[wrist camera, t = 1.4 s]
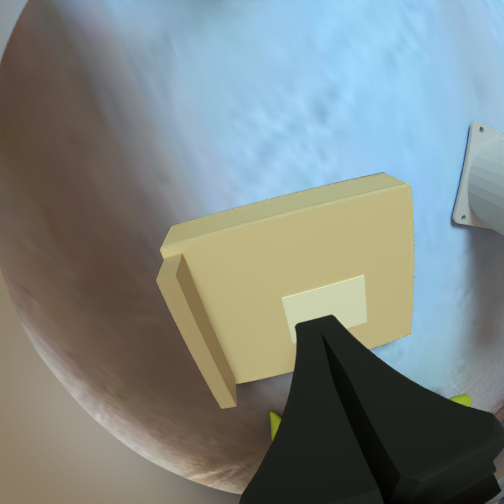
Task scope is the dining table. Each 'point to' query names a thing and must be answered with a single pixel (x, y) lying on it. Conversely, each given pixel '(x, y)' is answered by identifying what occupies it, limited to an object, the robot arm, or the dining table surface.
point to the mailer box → (280, 206)
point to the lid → (291, 284)
